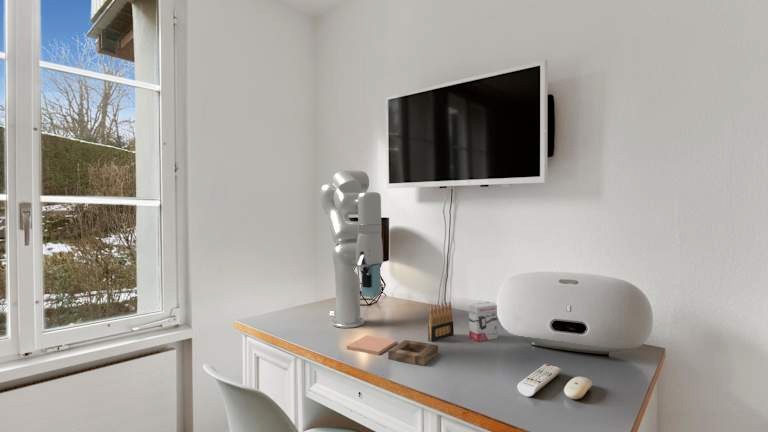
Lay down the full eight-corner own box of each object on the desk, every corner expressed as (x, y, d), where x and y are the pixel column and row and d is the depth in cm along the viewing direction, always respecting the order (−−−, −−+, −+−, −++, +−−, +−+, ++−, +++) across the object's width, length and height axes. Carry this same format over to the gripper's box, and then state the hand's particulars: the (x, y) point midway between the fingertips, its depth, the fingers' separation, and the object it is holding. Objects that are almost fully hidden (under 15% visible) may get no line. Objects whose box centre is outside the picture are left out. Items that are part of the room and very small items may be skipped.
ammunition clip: (431, 341, 134) (431, 306, 134) (428, 340, 136) (427, 305, 135) (453, 335, 141) (453, 301, 140) (450, 334, 142) (449, 300, 142)
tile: (346, 348, 129) (346, 345, 129) (366, 338, 139) (366, 335, 139) (378, 355, 123) (378, 351, 123) (396, 343, 133) (396, 340, 133)
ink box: (477, 342, 133) (477, 307, 133) (468, 338, 137) (468, 303, 137) (498, 338, 136) (497, 304, 136) (488, 334, 141) (488, 301, 141)
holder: (387, 359, 119) (387, 350, 119) (405, 347, 129) (405, 339, 129) (423, 366, 113) (423, 357, 113) (438, 353, 123) (438, 345, 123)
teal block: (361, 296, 130) (361, 265, 130) (369, 293, 134) (368, 263, 134) (373, 297, 127) (373, 266, 127) (380, 294, 131) (380, 264, 131)
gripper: (373, 228, 140) (374, 280, 140) (345, 231, 125) (346, 289, 125) (392, 228, 136) (393, 282, 136) (365, 231, 121) (367, 291, 121)
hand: (371, 285), depth 131 cm, fingers closed on teal block, 4 cm apart
